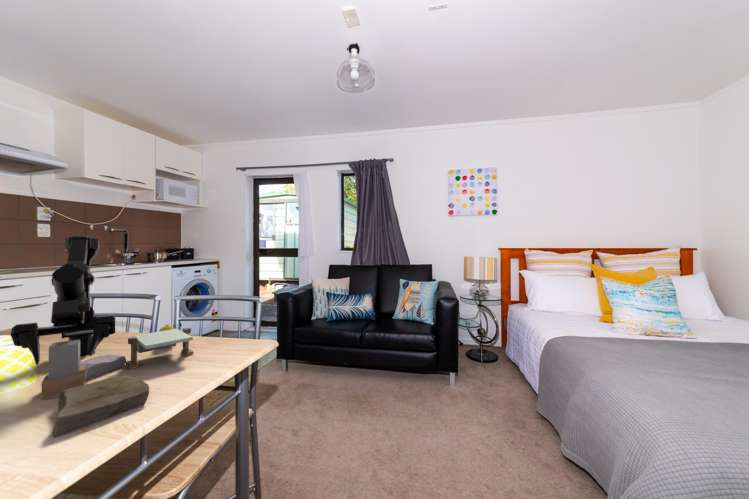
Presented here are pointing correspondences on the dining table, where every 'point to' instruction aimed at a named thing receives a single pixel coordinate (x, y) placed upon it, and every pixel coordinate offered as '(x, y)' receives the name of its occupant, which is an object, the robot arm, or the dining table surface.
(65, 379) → the plinth
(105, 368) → the stone block
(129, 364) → the trapdoor frame
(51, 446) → the dining table surface
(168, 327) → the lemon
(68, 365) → the grey block
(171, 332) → the trapdoor
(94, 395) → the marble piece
